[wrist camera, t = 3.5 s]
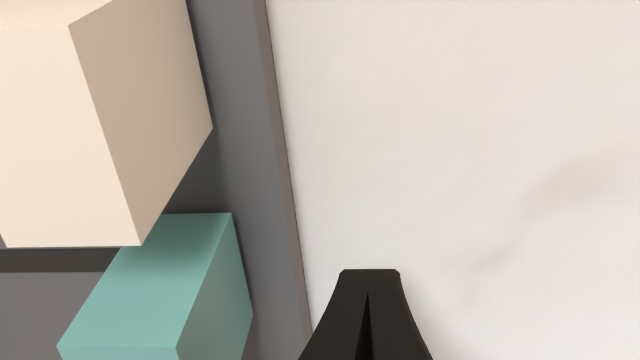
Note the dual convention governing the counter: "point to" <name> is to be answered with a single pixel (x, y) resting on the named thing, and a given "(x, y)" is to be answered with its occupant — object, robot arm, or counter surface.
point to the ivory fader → (95, 118)
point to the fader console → (194, 204)
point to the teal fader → (168, 297)
